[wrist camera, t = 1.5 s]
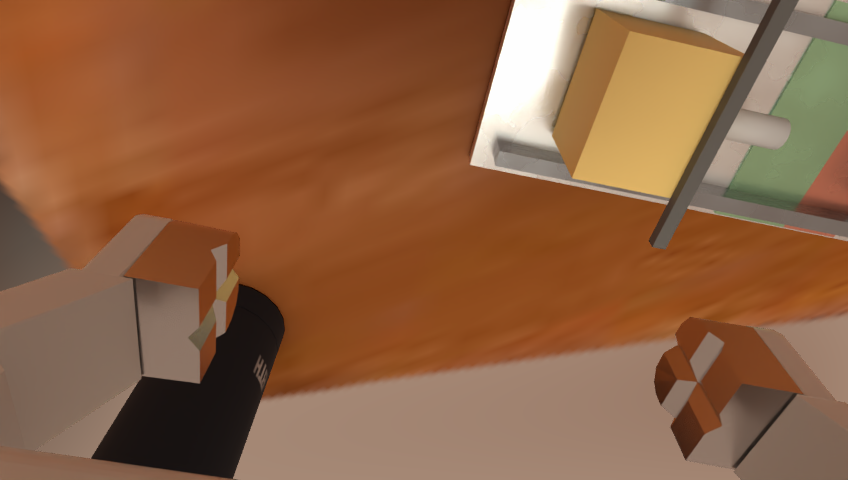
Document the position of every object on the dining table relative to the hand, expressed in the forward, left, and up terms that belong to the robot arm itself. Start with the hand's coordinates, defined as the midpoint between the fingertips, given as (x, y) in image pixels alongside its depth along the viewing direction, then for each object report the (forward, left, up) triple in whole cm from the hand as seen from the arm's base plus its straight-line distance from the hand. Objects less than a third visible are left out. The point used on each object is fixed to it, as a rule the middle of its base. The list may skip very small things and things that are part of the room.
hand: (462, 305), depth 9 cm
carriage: (0, +11, -18) cm, 21 cm away
